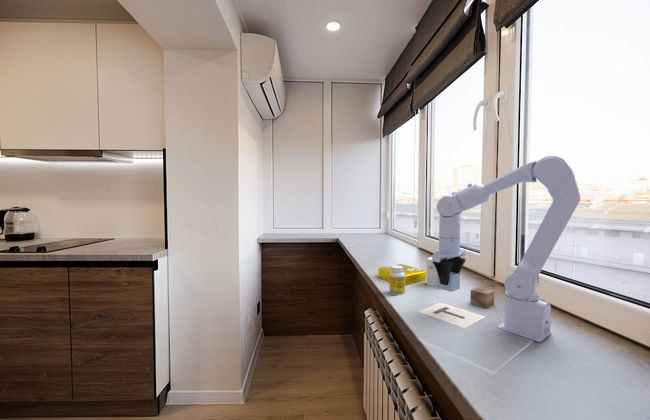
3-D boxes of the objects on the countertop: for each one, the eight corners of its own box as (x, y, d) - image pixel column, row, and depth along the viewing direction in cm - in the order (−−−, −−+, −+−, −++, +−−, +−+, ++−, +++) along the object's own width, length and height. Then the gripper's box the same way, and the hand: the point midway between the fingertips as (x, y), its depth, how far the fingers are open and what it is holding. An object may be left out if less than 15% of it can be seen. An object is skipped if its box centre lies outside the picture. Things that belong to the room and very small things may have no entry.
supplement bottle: (396, 290, 108) (396, 264, 108) (408, 294, 104) (408, 267, 103) (386, 292, 105) (386, 266, 105) (397, 296, 101) (397, 269, 100)
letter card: (485, 317, 84) (485, 316, 83) (464, 329, 76) (464, 327, 76) (440, 303, 95) (440, 302, 95) (418, 312, 87) (418, 311, 87)
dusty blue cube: (459, 288, 87) (459, 273, 87) (451, 291, 84) (451, 276, 84) (445, 285, 91) (445, 270, 91) (437, 288, 88) (437, 273, 88)
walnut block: (494, 306, 93) (494, 290, 92) (486, 310, 90) (487, 294, 89) (477, 301, 97) (478, 286, 96) (470, 305, 93) (470, 289, 93)
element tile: (400, 273, 134) (400, 262, 134) (428, 280, 122) (428, 269, 121) (376, 278, 126) (376, 266, 126) (403, 287, 113) (403, 274, 113)
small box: (451, 285, 114) (451, 258, 113) (448, 289, 109) (449, 261, 109) (429, 282, 118) (430, 256, 118) (426, 285, 113) (426, 258, 113)
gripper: (450, 234, 94) (449, 276, 95) (423, 237, 86) (422, 284, 86) (472, 236, 89) (471, 280, 89) (445, 240, 80) (444, 290, 81)
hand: (448, 282), depth 87 cm, fingers closed on dusty blue cube, 4 cm apart
